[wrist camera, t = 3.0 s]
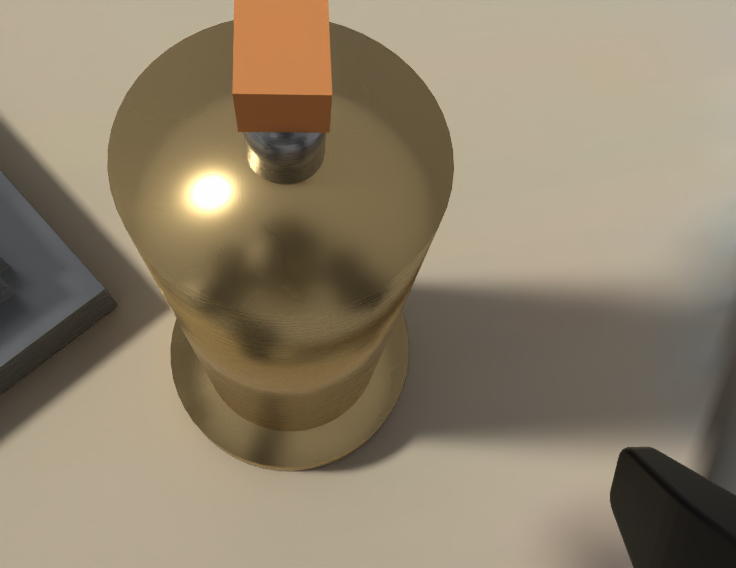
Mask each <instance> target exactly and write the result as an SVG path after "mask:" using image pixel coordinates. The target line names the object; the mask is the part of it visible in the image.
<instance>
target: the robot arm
mask: <svg viewBox="0 0 736 568" xmlns="http://www.w3.org/2000/svg"><path fill="white" fill-rule="evenodd" d="M610 503H611V508H612V511H613V514H614V516H615V519H616V522H617V524H618V527H619V530H620V533H621V535H622V538H623V541H624V543H625V546H626V549H627V552H628V554H629V557H630V560H631V562H632V565H633V568H736V495H734V494H733V493H731V492H729V491H727V490H726V489H724V488H722V487H720V486H719V485H717V484H715V483H713V482H712V481H710V480H708V479H707V478H705V477H703V476H701V475H700V474H698V473H696V472H694V471H693V470H691V469H689V468H687V467H686V466H684V465H682V464H680V463H679V462H677V461H675V460H673V459H672V458H670V457H668V456H667V455H665V454H663V453H661V452H660V451H658V450H656V449H654V448H652V447H627V448H625V449H623V450H622V451H621V453H620V455H619V458H618V462H617V466H616V470H615V474H614V478H613V482H612V486H611V491H610Z"/></svg>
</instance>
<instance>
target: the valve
mask: <svg viewBox="0 0 736 568" xmlns="http://www.w3.org/2000/svg"><path fill="white" fill-rule="evenodd" d="M453 172H454V163H453V148H452V143H451V138H450V133H449V130H448V127H447V124H446V121H445V118H444V115H443V113H442V111H441V109H440V107H439V105H438V103H437V101H436V99H435V97H434V96H433V94H432V93H431V92H430V90H429V89H428V87H427V86H426V84H425V83H424V82H423V80H422V79H421V78H420V77H419V76H418V75H417V74H416V73H415V71H414V70H413V69H412V68H411V67H410V66H409V65H408V64H406V63H405V62H404V61H403V60H402V59H401V58H400V57H399V56H397V55H396V54H395V53H393V52H392V51H390V50H389V49H388V48H386V47H385V46H383V45H382V44H380V43H379V42H377V41H375V40H373V39H371V38H369V37H367V36H366V35H364V34H362V33H359V32H357V31H354V30H352V29H350V28H347V27H345V26H341V25H338V24H335V23H331V22H329V10H328V0H234V20H233V21H229V22H225V23H221V24H218V25H215V26H213V27H210V28H207V29H204V30H202V31H200V32H198V33H196V34H193V35H191V36H189V37H187V38H185V39H183V40H182V41H180V42H179V43H177V44H176V45H174V46H173V47H171V48H169V49H168V50H167V51H165V52H164V53H163V54H162V55H160V56H159V57H158V58H157V59H156V60H154V61H153V62H152V63H151V64H150V65H149V66H148V67H147V68H146V69H145V70H144V72H143V73H142V74H141V75H140V76H139V77H138V78H137V80H136V81H135V82H134V84H133V85H132V87H131V88H130V89H129V91H128V92H127V94H126V96H125V98H124V100H123V102H122V104H121V105H120V107H119V109H118V112H117V115H116V117H115V120H114V123H113V126H112V129H111V135H110V140H109V146H108V176H109V183H110V189H111V193H112V196H113V199H114V203H115V206H116V209H117V211H118V213H119V215H120V217H121V219H122V221H123V224H124V226H125V228H126V230H127V231H128V233H129V235H130V237H131V239H132V240H133V242H134V244H135V246H136V248H137V249H138V251H139V253H140V255H141V256H142V258H143V260H144V262H145V264H146V265H147V267H148V269H149V271H150V273H151V274H152V276H153V278H154V280H155V282H156V283H157V285H158V287H159V289H160V291H161V292H162V294H163V296H164V298H165V300H166V301H167V303H168V305H169V307H170V309H171V310H172V312H173V314H174V316H175V318H176V322H175V326H174V330H173V334H172V342H171V367H172V373H173V379H174V383H175V386H176V389H177V392H178V395H179V397H180V399H181V401H182V403H183V406H184V408H185V409H186V411H187V412H188V414H189V415H190V417H191V418H192V420H193V421H194V423H195V424H196V425H197V426H198V427H199V428H200V429H201V430H202V432H203V433H204V434H205V435H206V436H207V437H208V438H209V439H210V440H211V441H212V442H213V443H214V444H215V445H217V446H218V447H219V448H220V449H221V450H223V451H225V452H226V453H228V454H229V455H231V456H232V457H234V458H236V459H238V460H241V461H243V462H245V463H247V464H250V465H253V466H257V467H260V468H263V469H270V470H276V471H300V470H309V469H313V468H317V467H321V466H325V465H328V464H330V463H333V462H335V461H338V460H340V459H342V458H343V457H345V456H347V455H349V454H351V453H352V452H354V451H355V450H356V449H358V448H359V447H360V446H362V445H363V444H364V443H366V442H367V441H368V440H369V439H370V438H371V437H372V436H373V435H374V434H375V433H376V432H377V430H378V429H379V428H380V426H381V425H382V424H383V422H384V421H385V420H386V418H387V417H388V416H389V414H390V413H391V411H392V409H393V408H394V406H395V404H396V402H397V401H398V398H399V396H400V394H401V391H402V389H403V386H404V382H405V379H406V375H407V370H408V362H409V339H408V332H407V326H406V323H405V319H404V316H403V313H402V308H403V305H404V303H405V301H406V299H407V296H408V294H409V292H410V290H411V287H412V285H413V283H414V281H415V278H416V276H417V274H418V272H419V269H420V267H421V265H422V263H423V260H424V258H425V256H426V254H427V251H428V249H429V247H430V245H431V242H432V240H433V238H434V236H435V233H436V231H437V229H438V227H439V224H440V222H441V220H442V218H443V215H444V213H445V211H446V208H447V205H448V201H449V197H450V193H451V190H452V182H453Z"/></svg>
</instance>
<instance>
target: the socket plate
mask: <svg viewBox="0 0 736 568" xmlns="http://www.w3.org/2000/svg"><path fill="white" fill-rule="evenodd" d="M116 306H118V305H117V303H116V302H115V301H114V300H113V298H112V297H111V296H110V294H109V293H108V292H107V290H106V289H105V288H104V287H103V286H102V285H101V283H100V282H99V281H98V280H97V279H96V278H95V277H94V276H93V274H92V273H91V272H90V271H89V270H88V269H87V268H86V267H85V265H84V264H83V263H82V262H81V261H80V260H79V259H78V258H77V256H76V255H75V254H74V253H73V252H72V251H71V250H70V249H69V247H68V246H67V245H66V244H65V243H64V242H63V241H62V240H61V238H60V237H59V236H58V235H57V234H56V233H55V232H54V230H53V229H52V228H51V227H50V226H49V225H48V224H47V223H46V221H45V220H44V219H43V218H42V217H41V216H40V215H39V214H38V212H37V211H36V210H35V209H34V208H33V207H32V206H31V205H30V203H29V202H28V201H27V200H26V199H25V198H24V197H23V196H22V194H21V193H20V192H19V191H18V190H17V189H16V188H15V187H14V185H13V184H12V183H11V182H10V181H9V180H8V179H7V177H6V176H5V175H4V174H3V173H2V172H1V171H0V395H1V394H2V393H3V392H5V391H6V390H7V389H9V388H10V387H11V386H13V385H14V384H15V383H17V382H18V381H19V380H21V379H22V378H23V377H24V376H26V375H27V374H28V373H30V372H31V371H32V370H34V369H35V368H36V367H38V366H39V365H40V364H42V363H43V362H44V361H45V360H47V359H48V358H49V357H51V356H52V355H53V354H55V353H56V352H57V351H59V350H60V349H61V348H63V347H64V346H65V345H67V344H68V343H69V342H70V341H72V340H73V339H74V338H76V337H77V336H78V335H80V334H81V333H82V332H84V331H85V330H86V329H88V328H89V327H90V326H91V325H93V324H94V323H95V322H97V321H98V320H99V319H101V318H102V317H103V316H105V315H106V314H107V313H109V312H110V311H111V310H113V309H114V308H115V307H116Z"/></svg>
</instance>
